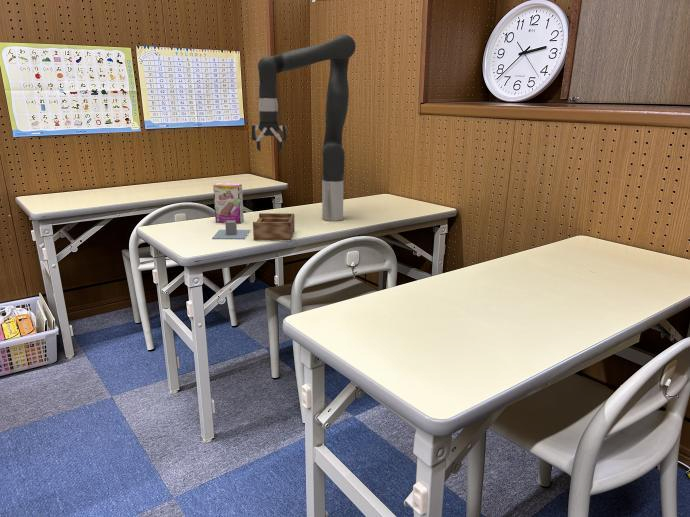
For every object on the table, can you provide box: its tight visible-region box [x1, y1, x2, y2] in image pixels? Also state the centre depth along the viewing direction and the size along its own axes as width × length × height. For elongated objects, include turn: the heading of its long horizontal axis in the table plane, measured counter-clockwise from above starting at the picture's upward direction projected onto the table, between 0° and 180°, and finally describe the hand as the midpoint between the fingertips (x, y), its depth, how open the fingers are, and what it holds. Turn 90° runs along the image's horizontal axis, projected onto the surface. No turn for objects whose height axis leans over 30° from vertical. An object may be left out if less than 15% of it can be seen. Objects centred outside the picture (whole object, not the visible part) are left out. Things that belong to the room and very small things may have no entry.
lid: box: [211, 220, 251, 240], centre depth 195 cm, size 12×12×6 cm
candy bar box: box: [212, 182, 245, 224], centre depth 212 cm, size 11×5×16 cm, turn 84°
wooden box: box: [252, 212, 296, 242], centre depth 194 cm, size 14×15×7 cm
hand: (269, 150), depth 207 cm, fingers open, 8 cm apart
